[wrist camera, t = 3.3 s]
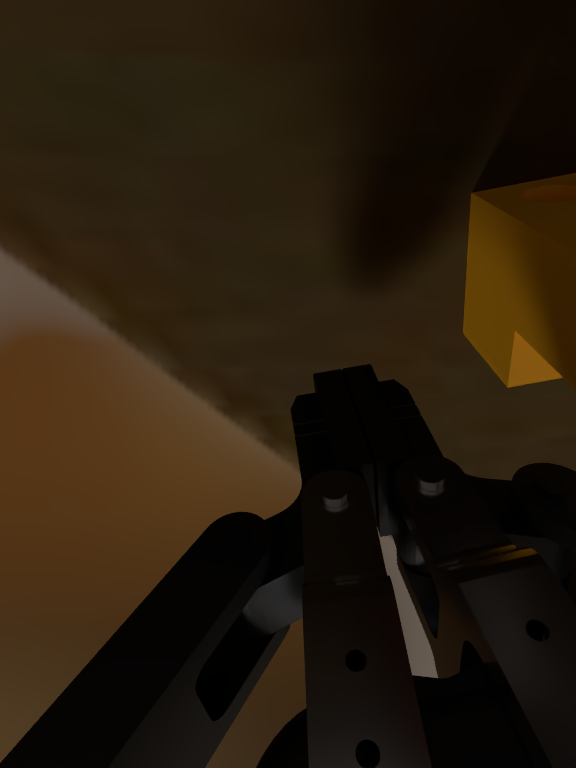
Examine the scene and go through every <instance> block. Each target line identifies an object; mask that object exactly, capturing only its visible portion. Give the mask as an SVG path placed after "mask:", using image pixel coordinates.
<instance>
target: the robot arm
mask: <svg viewBox="0 0 576 768" xmlns="http://www.w3.org/2000/svg"><path fill="white" fill-rule="evenodd" d="M313 378H314V386H315V393H311V394H305V395H299V396H297V397H296V399H295V401H294V403H293V406H292V408H291V414H292V420H293V427H294V433H295V440H296V446H297V453H298V459H299V465H300V472H301V478H302V487H301V491H300V494H299V496H298V497H297V499H296V500H295V501H294V503H293V504H292V505H290V506H289V507H288V508H287V509H285V510H284V511H282V512H280V513H278V514H276V515H274V516H272V517H270V518H268V519H266V520H263V519H262V518H261V517H259V516H257V515H256V514H253V513H248V512H235V513H231V514H227V515H225V516H223V517H221V518H219V519H217V520H216V521H214V522H213V523H212V524H211V525H210V526H209V527H208V528H207V529H206V530H205V531H204V532H203V533H202V535H201V536H200V537H199V538H198V539H197V540H196V542H195V543H194V544H193V545H192V546H191V547H190V548H189V549H188V550H187V552H186V553H185V554H184V555H183V556H182V557H181V558H180V560H179V561H178V562H177V563H176V564H175V565H174V566H173V567H172V569H171V570H170V571H169V572H168V573H167V574H166V575H165V577H164V578H163V579H162V580H161V581H160V582H159V583H158V585H157V586H156V587H155V588H154V589H153V590H152V591H151V593H150V594H149V595H148V596H147V597H146V598H145V599H144V600H143V602H142V603H141V604H140V605H139V606H138V607H137V608H136V609H135V611H134V612H133V613H132V614H131V615H130V616H129V618H128V619H127V620H126V621H125V622H124V623H123V624H122V625H121V626H120V628H119V629H118V630H117V631H116V632H115V633H114V634H113V636H112V637H111V638H110V639H109V640H108V641H107V642H106V644H105V645H104V646H103V647H102V648H101V649H100V650H99V651H98V653H97V654H96V655H95V656H94V657H93V659H92V660H91V661H90V662H89V663H88V664H87V665H86V666H85V667H84V668H83V670H82V671H81V672H80V673H79V674H78V675H77V676H76V678H75V679H74V680H73V681H72V682H71V683H70V684H69V686H68V687H67V688H66V689H65V690H64V691H63V692H62V694H61V695H60V696H59V697H58V698H57V699H56V700H55V701H54V703H53V704H52V705H51V706H50V707H49V708H48V709H47V711H46V712H45V713H44V714H43V715H42V716H41V717H40V719H39V720H38V721H37V722H36V723H35V724H34V725H33V726H32V728H31V729H30V730H29V731H28V732H27V733H26V734H25V736H24V737H23V738H22V739H21V740H20V741H19V743H17V745H16V746H15V747H14V748H13V749H12V751H10V753H9V754H8V755H7V756H6V757H5V758H4V759H3V760H2V762H1V763H0V768H205V767H206V765H207V763H208V762H209V760H210V758H211V757H212V755H213V754H214V752H215V750H216V749H217V747H218V745H219V744H220V742H221V741H222V739H223V737H224V736H225V734H226V732H227V731H228V729H229V727H230V726H231V724H232V723H233V721H234V719H235V718H236V716H237V714H238V713H239V711H240V709H241V708H242V706H243V704H244V703H245V701H246V700H247V698H248V696H249V695H250V693H251V692H252V690H253V688H254V687H255V685H256V683H257V682H258V680H259V678H260V677H261V675H262V674H263V672H264V670H265V669H266V667H267V665H268V664H269V662H270V660H271V659H272V657H273V656H274V654H275V652H276V651H277V649H278V648H279V646H280V644H281V643H282V641H283V639H284V638H285V636H286V634H287V632H288V630H289V628H290V625H291V623H293V622H295V621H297V620H298V619H300V618H302V617H303V635H304V659H305V683H306V706H307V707H306V709H304V710H302V711H301V712H300V713H298V714H297V715H296V716H295V717H294V718H293V719H291V721H289V722H288V723H287V724H286V725H285V726H284V727H283V728H282V730H281V731H280V732H279V733H278V734H277V735H276V736H275V738H274V739H273V740H272V742H271V743H270V745H269V746H268V748H267V749H266V751H265V752H264V754H263V756H262V758H261V759H260V761H259V763H258V765H257V767H256V768H576V471H573V470H571V469H569V468H566V467H563V466H560V465H556V464H550V463H534V464H529V465H526V466H524V467H522V468H520V469H519V470H518V471H517V472H516V473H515V474H514V476H513V479H512V481H509V480H497V479H485V478H478V477H474V476H470V475H468V474H465V473H464V472H463V470H462V469H461V468H460V467H459V466H458V465H457V464H456V463H454V462H453V461H451V460H449V459H447V458H444V457H443V455H442V453H441V451H440V449H439V447H438V446H437V444H436V442H435V440H434V438H433V436H432V434H431V432H430V430H429V429H428V427H427V425H426V423H425V421H424V419H423V417H422V416H421V414H420V412H419V410H418V408H417V406H416V405H415V402H414V400H413V398H412V396H411V395H410V393H409V391H408V389H407V388H405V387H404V386H402V385H401V384H400V383H398V382H397V381H395V380H394V379H393V380H387V381H381V382H379V381H378V379H377V377H376V375H375V372H374V370H373V368H372V366H371V364H367V365H361V366H355V367H349V368H344V369H342V371H341V369H338V370H332V371H326V372H321V373H315V374H313ZM377 527H378V530H377ZM378 531H379V534H380V536H381V537H382V536H388V535H392V536H393V539H394V542H395V545H396V548H397V565H398V568H399V571H400V573H401V576H402V578H403V580H404V583H405V585H406V588H407V590H408V593H409V595H410V598H411V600H412V602H413V605H414V607H415V610H416V612H417V614H418V617H419V619H420V622H421V624H422V627H423V629H424V631H425V634H426V636H427V639H428V641H429V644H430V647H431V650H432V653H433V656H434V661H435V666H436V671H437V675H438V678H431V677H422V676H414V675H412V673H411V668H410V664H409V659H408V654H407V650H406V645H405V640H404V636H403V631H402V626H401V622H400V617H399V612H398V608H397V603H396V598H395V594H394V590H393V586H392V582H391V579H390V576H387V573H386V569H385V564H384V559H383V554H382V549H381V545H380V540H379V535H378Z"/></svg>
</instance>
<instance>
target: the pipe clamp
mask: <svg viewBox="0 0 576 768" xmlns="http://www.w3.org/2000/svg"><path fill="white" fill-rule="evenodd" d="M463 334H464V335H465V336H466V337H467V339H468V340H469V341H470V342H471V343H472V345H473V346H474V347H475V348H476V350H477V351H478V352H479V353H480V354H481V356H482V357H483V358H484V359H485V361H486V362H487V363H488V364H489V365H490V367H491V368H492V369H493V370H494V372H495V373H496V374H497V375H498V376H499V378H500V379H501V380H502V381H503V383H504V384H505V385H506V386H507V387H513V386H519V385H524V384H530V383H535V382H541V381H546V380H552V379H557V378H564V379H565V380H566V381H567V382H568V383H569V384H570V385H571V386H572V387H573V388H574V389H575V390H576V173H573V174H568V175H562V176H557V177H552V178H547V179H541V180H536V181H531V182H526V183H520V184H515V185H510V186H505V187H499V188H494V189H489V190H484V191H478V192H473V193H471V205H470V222H469V240H468V257H467V274H466V291H465V308H464V325H463Z"/></svg>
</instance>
